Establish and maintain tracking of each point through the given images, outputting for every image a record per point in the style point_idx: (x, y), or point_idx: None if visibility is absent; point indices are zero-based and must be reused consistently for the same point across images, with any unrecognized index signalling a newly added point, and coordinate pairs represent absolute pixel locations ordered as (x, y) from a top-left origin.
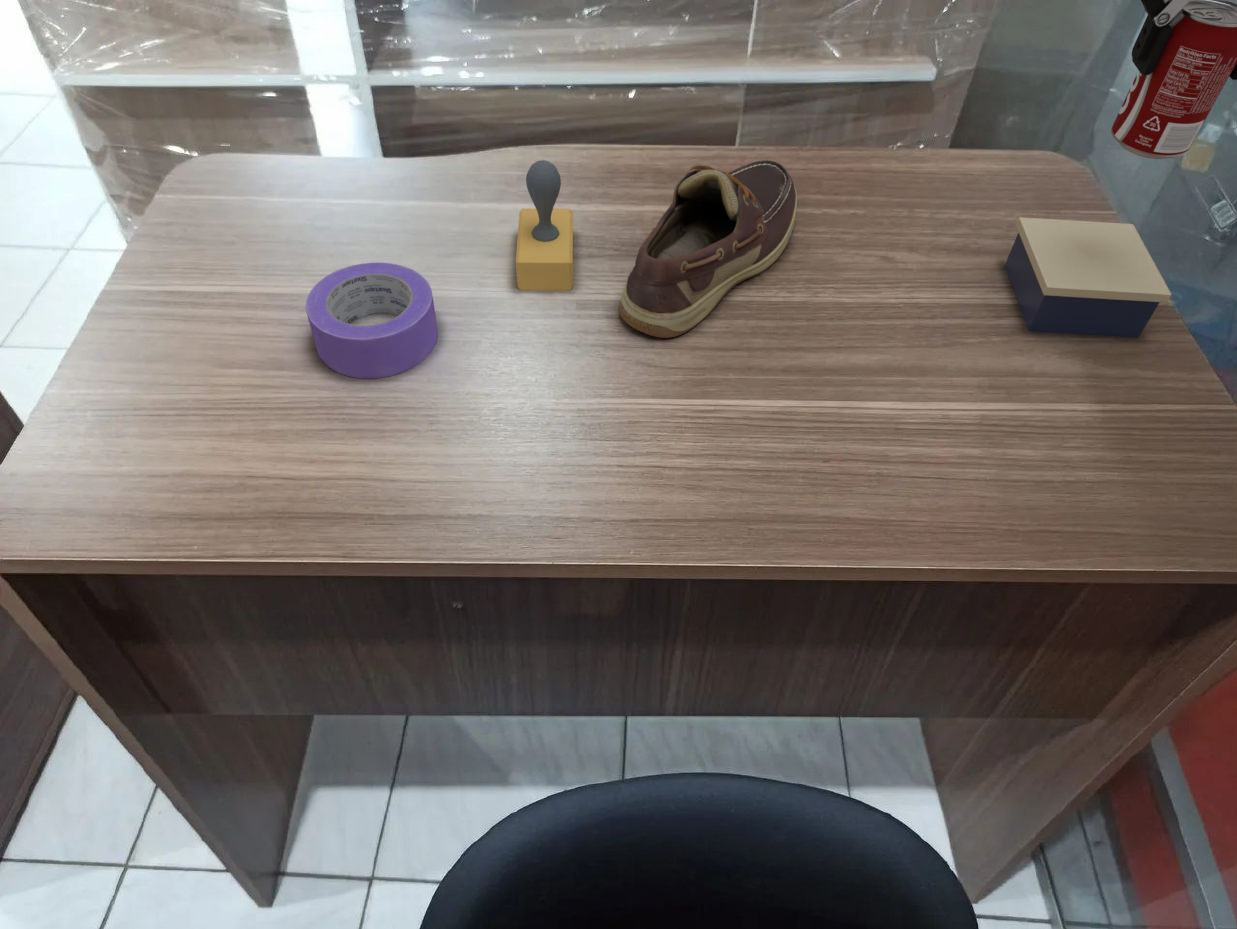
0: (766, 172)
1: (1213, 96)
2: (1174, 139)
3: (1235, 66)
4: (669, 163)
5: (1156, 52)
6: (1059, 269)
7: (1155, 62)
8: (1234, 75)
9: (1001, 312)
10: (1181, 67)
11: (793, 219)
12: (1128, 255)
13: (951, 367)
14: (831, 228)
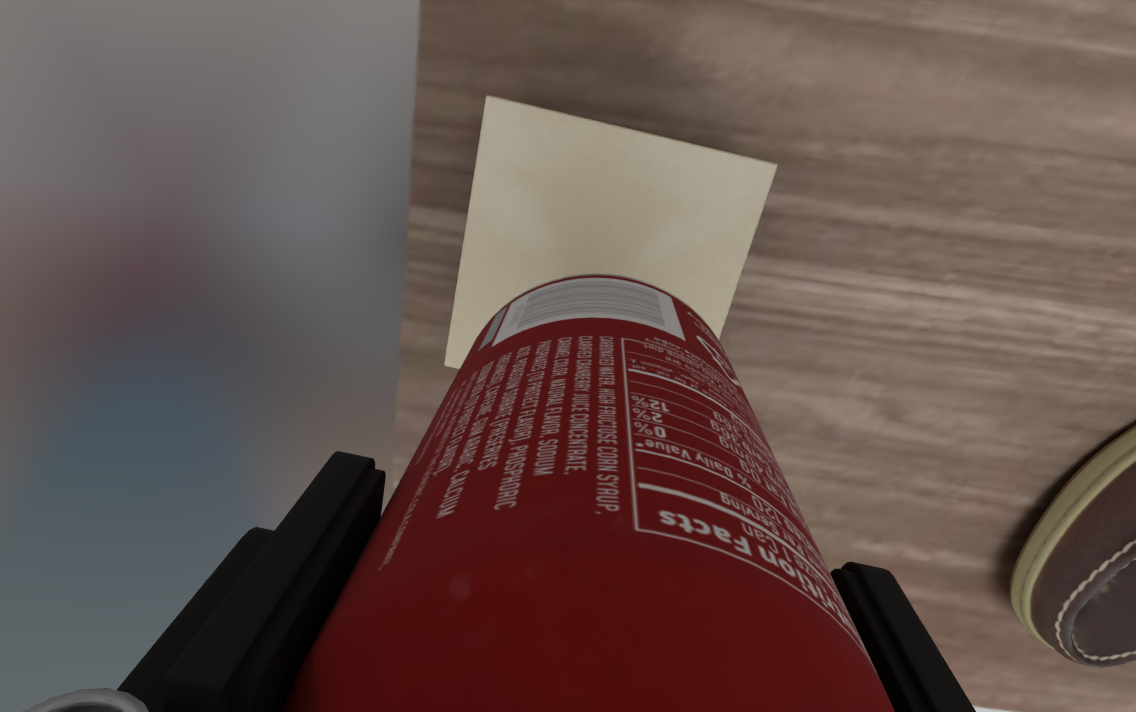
0: (1106, 635)
1: (513, 379)
2: (624, 296)
3: (361, 525)
4: (1129, 708)
5: (939, 670)
6: (709, 226)
7: (886, 612)
8: (376, 473)
9: None
10: (796, 527)
11: (1066, 521)
12: (514, 256)
13: (963, 68)
14: (944, 509)
